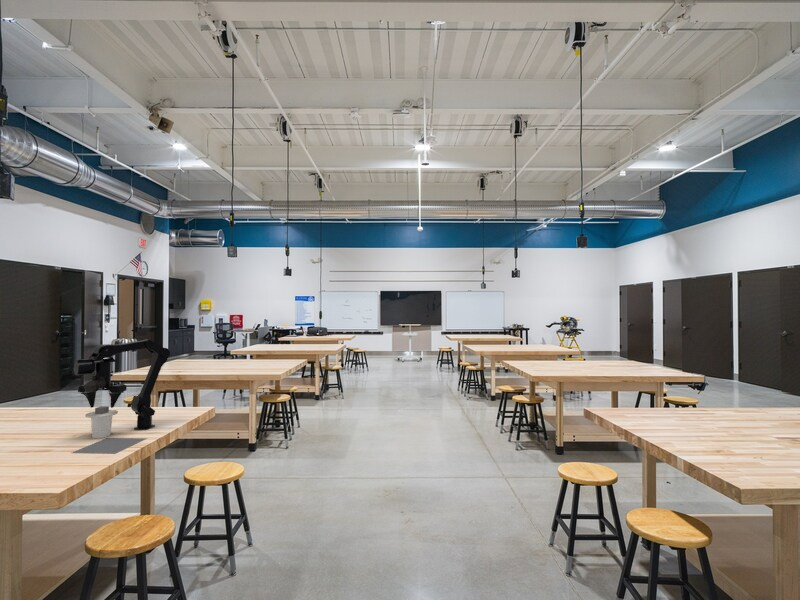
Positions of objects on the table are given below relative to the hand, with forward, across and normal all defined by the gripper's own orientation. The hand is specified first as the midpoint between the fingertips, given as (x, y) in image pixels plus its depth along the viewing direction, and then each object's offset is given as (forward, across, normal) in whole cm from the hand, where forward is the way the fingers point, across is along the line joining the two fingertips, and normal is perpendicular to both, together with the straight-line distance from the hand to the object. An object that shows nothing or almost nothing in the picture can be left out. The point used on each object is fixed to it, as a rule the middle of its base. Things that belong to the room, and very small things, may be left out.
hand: (102, 407), depth 190 cm
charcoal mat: (+13, +14, -13) cm, 23 cm away
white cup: (+13, 0, 0) cm, 13 cm away
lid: (+3, 0, 0) cm, 3 cm away
